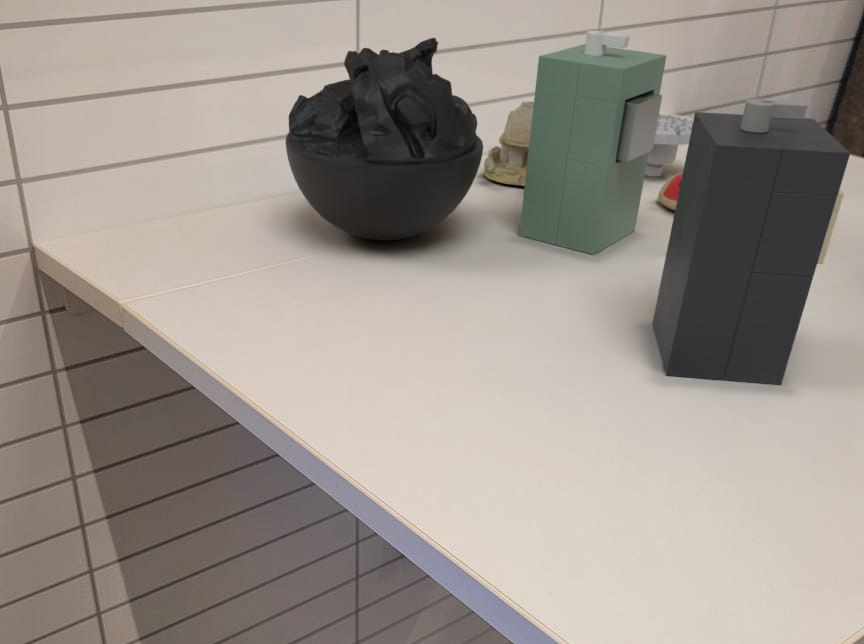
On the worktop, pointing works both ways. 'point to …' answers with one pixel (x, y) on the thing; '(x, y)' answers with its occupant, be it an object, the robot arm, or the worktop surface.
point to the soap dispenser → (585, 144)
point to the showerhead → (667, 142)
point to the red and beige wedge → (670, 192)
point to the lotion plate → (831, 227)
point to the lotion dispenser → (745, 241)
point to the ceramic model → (512, 148)
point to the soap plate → (638, 126)
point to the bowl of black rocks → (384, 145)
